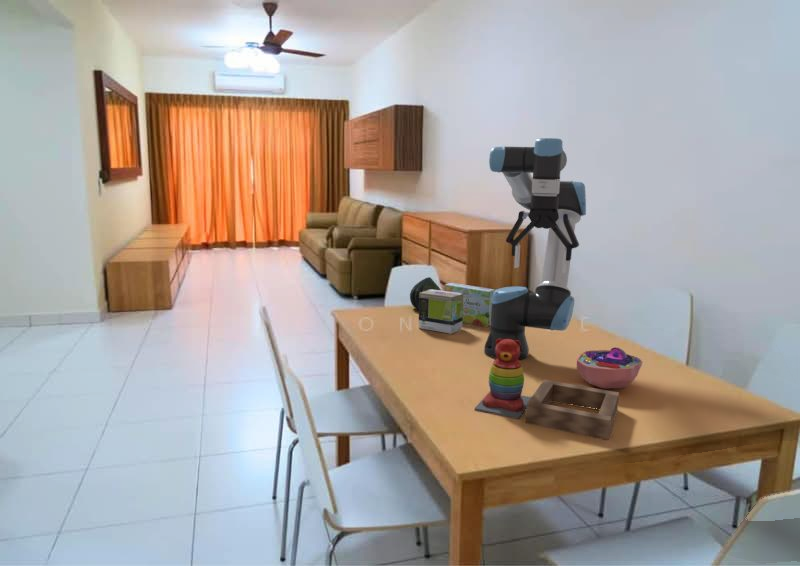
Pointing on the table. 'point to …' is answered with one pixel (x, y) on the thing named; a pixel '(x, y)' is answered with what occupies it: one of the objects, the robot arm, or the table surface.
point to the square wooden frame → (569, 418)
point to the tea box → (441, 311)
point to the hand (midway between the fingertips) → (539, 269)
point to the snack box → (474, 303)
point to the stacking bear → (506, 377)
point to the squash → (421, 290)
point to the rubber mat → (503, 409)
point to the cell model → (608, 368)
